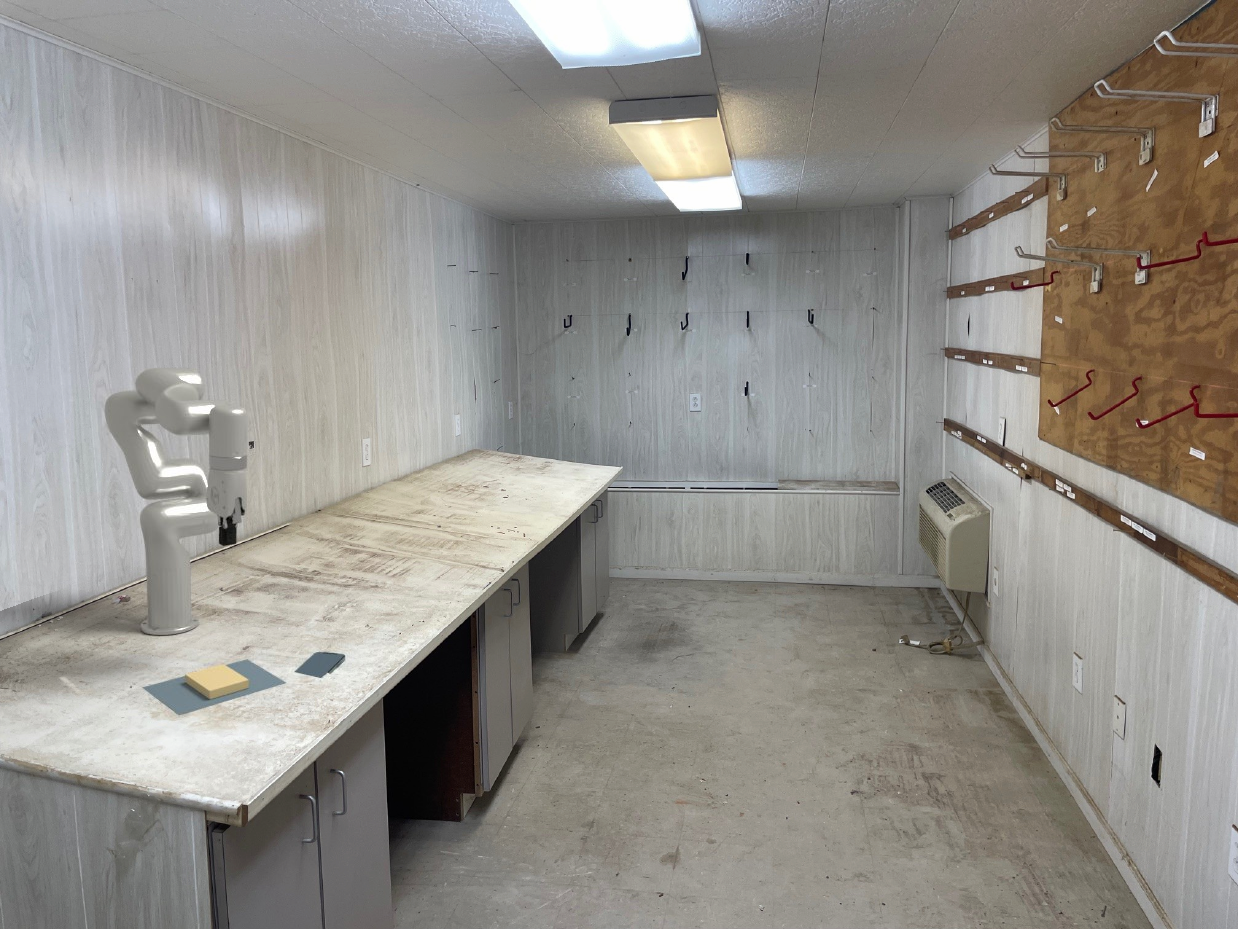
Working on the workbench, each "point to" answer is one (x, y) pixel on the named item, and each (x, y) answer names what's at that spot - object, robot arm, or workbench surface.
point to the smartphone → (321, 664)
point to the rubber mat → (189, 699)
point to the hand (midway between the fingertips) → (227, 544)
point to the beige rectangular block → (216, 681)
